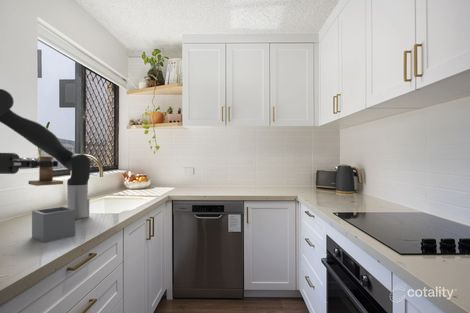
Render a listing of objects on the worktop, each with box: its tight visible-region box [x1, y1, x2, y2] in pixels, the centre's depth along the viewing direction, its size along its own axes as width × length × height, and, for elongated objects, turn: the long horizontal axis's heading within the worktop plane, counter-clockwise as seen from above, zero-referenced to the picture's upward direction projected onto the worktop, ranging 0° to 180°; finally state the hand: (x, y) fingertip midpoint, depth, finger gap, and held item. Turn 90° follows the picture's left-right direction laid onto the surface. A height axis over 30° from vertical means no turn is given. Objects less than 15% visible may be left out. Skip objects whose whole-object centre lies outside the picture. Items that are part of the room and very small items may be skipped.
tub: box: [31, 206, 76, 244], centre depth 104 cm, size 11×11×10 cm
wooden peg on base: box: [27, 155, 64, 187], centre depth 96 cm, size 8×8×10 cm
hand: (55, 163), depth 97 cm, fingers closed on wooden peg on base, 4 cm apart
